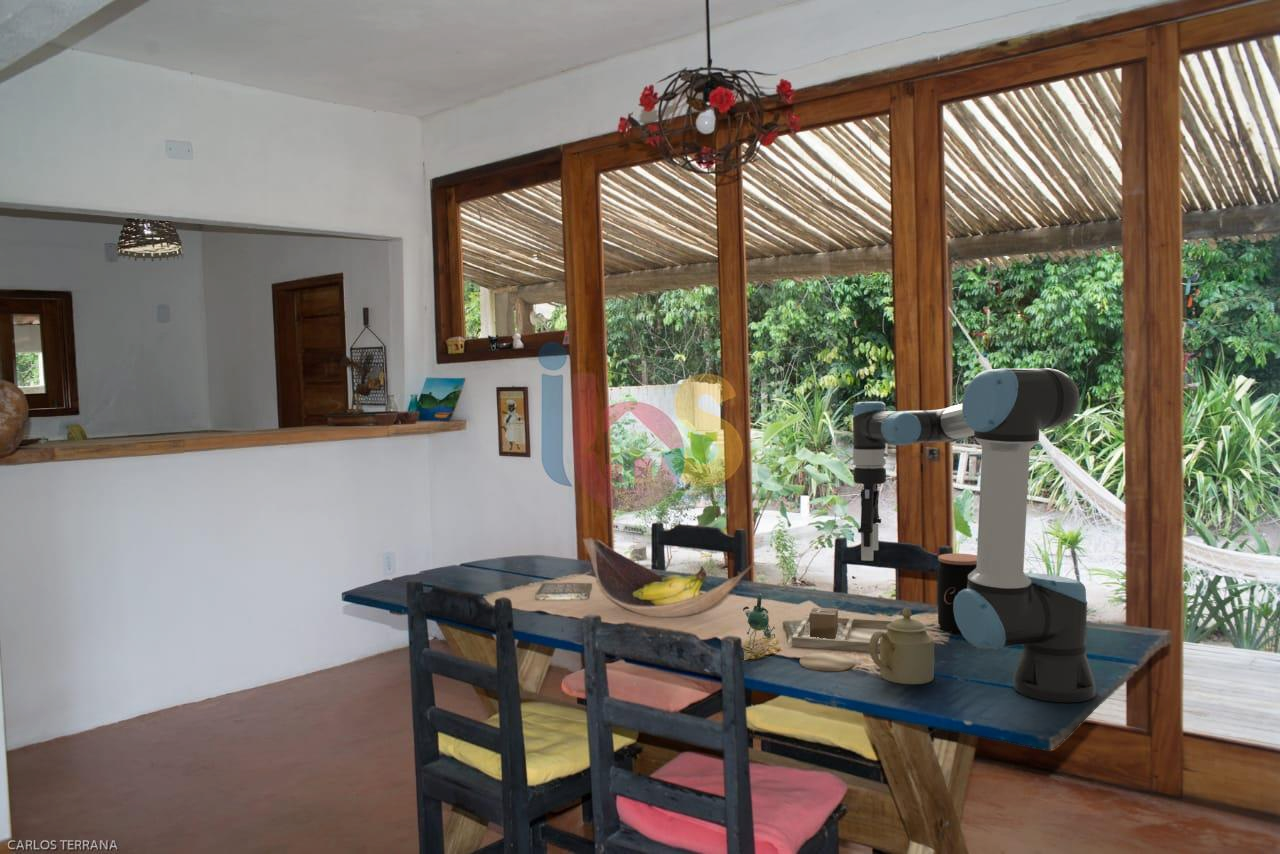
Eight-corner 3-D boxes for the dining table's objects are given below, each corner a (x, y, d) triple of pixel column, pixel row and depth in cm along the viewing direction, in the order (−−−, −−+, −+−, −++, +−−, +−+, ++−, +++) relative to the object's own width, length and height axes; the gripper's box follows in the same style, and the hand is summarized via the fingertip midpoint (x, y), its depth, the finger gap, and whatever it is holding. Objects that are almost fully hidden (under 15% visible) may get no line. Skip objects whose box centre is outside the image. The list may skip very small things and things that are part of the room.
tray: (892, 655, 222) (892, 644, 222) (791, 647, 229) (791, 637, 229) (898, 630, 243) (898, 620, 243) (806, 624, 250) (806, 615, 250)
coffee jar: (939, 633, 240) (939, 560, 239) (936, 622, 250) (936, 552, 249) (985, 635, 237) (985, 561, 236) (980, 624, 248) (980, 553, 247)
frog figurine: (798, 646, 231) (795, 586, 229) (758, 673, 217) (755, 609, 215) (764, 639, 237) (760, 580, 235) (723, 665, 223) (718, 603, 221)
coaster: (851, 673, 209) (851, 671, 209) (795, 668, 213) (795, 666, 213) (857, 657, 220) (857, 655, 220) (804, 653, 224) (804, 651, 224)
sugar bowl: (921, 693, 195) (921, 619, 195) (867, 685, 201) (867, 613, 200) (940, 673, 208) (939, 603, 207) (888, 666, 214) (888, 598, 213)
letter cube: (834, 639, 234) (834, 614, 234) (809, 637, 236) (809, 612, 235) (838, 633, 240) (837, 608, 239) (813, 631, 241) (813, 607, 241)
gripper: (881, 472, 219) (881, 565, 220) (889, 462, 243) (890, 546, 244) (847, 471, 221) (848, 564, 223) (859, 461, 245) (859, 545, 246)
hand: (870, 555), depth 233 cm, fingers open, 13 cm apart
